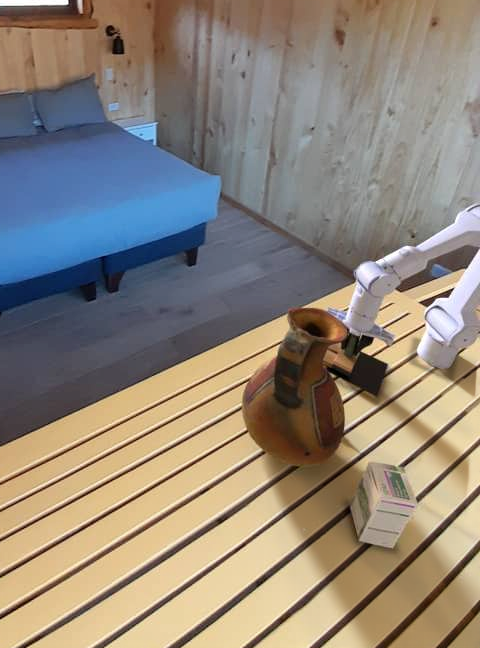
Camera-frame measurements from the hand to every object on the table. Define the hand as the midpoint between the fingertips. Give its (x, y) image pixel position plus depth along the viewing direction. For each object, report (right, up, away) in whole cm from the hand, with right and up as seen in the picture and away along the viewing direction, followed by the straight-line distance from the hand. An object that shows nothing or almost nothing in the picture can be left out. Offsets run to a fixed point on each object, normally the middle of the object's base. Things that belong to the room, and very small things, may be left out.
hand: (349, 349), depth 100 cm
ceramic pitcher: (-21, -13, -12) cm, 27 cm away
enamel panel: (+2, -6, +1) cm, 6 cm away
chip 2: (-5, -3, +3) cm, 6 cm away
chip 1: (-1, -2, +6) cm, 6 cm away
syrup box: (-12, -21, -28) cm, 37 cm away
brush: (0, -3, +2) cm, 4 cm away
